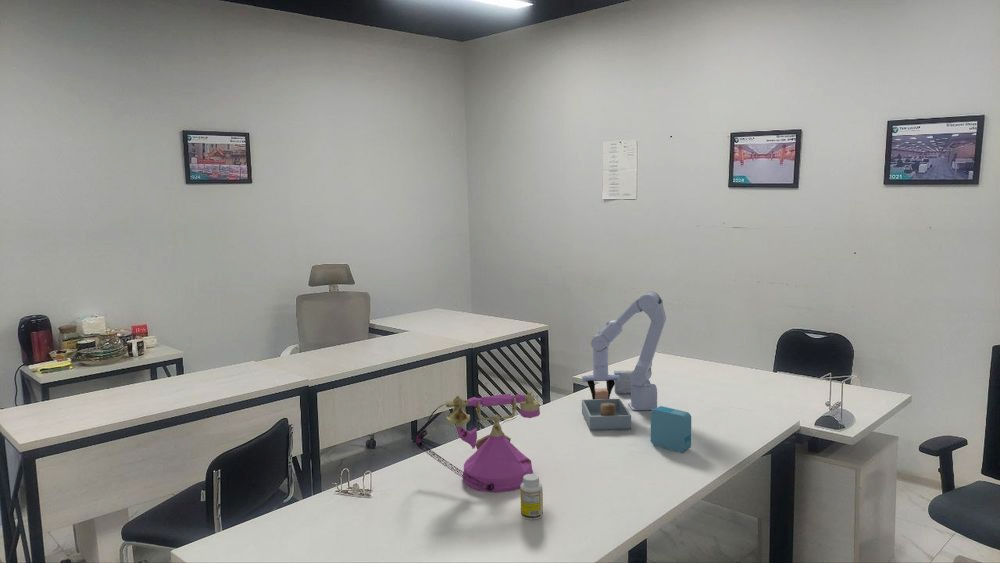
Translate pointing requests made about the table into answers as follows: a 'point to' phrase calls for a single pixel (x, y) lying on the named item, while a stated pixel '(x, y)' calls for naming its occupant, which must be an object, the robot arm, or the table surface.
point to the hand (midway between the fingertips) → (600, 399)
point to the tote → (603, 423)
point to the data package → (671, 429)
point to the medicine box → (623, 381)
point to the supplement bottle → (531, 497)
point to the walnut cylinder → (607, 409)
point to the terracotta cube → (601, 393)
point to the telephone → (490, 444)
